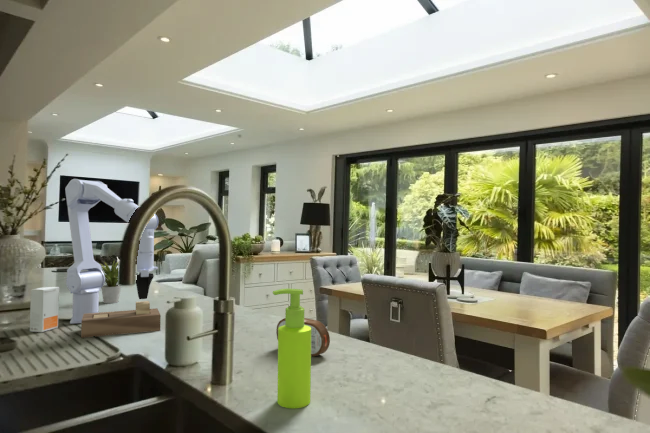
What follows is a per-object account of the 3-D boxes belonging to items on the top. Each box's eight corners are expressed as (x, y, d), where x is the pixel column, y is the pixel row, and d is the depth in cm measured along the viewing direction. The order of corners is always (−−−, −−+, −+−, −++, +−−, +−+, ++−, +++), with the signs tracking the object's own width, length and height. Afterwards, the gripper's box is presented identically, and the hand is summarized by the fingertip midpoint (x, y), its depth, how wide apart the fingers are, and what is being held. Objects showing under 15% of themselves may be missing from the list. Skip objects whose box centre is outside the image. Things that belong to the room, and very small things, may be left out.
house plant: (95, 298, 176) (96, 257, 176) (133, 297, 179) (133, 257, 179) (85, 305, 162) (85, 261, 162) (125, 304, 165) (126, 260, 165)
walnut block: (83, 329, 128) (83, 313, 128) (157, 322, 136) (157, 308, 136) (81, 337, 119) (81, 321, 119) (160, 330, 127) (160, 314, 127)
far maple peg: (135, 315, 131) (135, 301, 131) (148, 314, 132) (148, 301, 132) (136, 317, 128) (136, 304, 128) (149, 316, 129) (149, 303, 129)
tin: (330, 357, 105) (330, 321, 105) (322, 360, 102) (323, 323, 102) (282, 346, 113) (282, 313, 113) (274, 348, 111) (274, 315, 111)
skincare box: (42, 332, 123) (42, 289, 124) (29, 331, 124) (29, 289, 124) (59, 327, 129) (59, 286, 130) (46, 326, 130) (47, 286, 130)
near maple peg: (93, 329, 126) (93, 315, 126) (107, 327, 128) (107, 314, 128) (93, 332, 123) (93, 317, 123) (107, 330, 124) (107, 316, 124)
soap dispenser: (272, 395, 81) (273, 286, 81) (309, 394, 82) (310, 286, 82) (270, 409, 75) (272, 292, 76) (311, 408, 76) (312, 292, 76)
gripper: (160, 253, 125) (159, 301, 125) (155, 250, 138) (155, 293, 138) (133, 254, 122) (132, 303, 122) (131, 251, 135) (130, 295, 135)
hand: (142, 298), depth 130 cm, fingers closed
